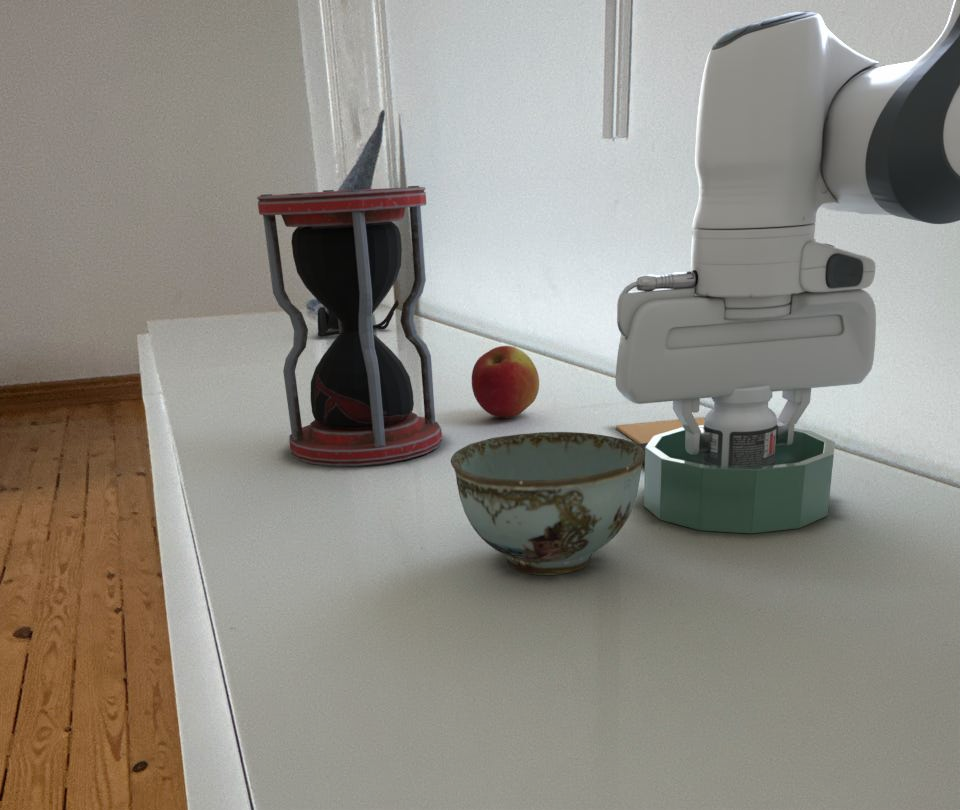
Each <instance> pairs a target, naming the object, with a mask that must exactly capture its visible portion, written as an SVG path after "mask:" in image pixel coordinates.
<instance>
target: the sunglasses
mask: <svg viewBox="0 0 960 810" xmlns="http://www.w3.org/2000/svg"><path fill="white" fill-rule="evenodd" d="M399 305H400V304H399V300H398V299H396V300H395V301H394V303H393V305H392V306H391V308H390V309H389V311H388V313H387V315H386V316H385V318H384V319H383V320H382V321H381V322H379V323H376V324H373V330H374V329H377V330H386V329H387V328H388V326H389V325H390V322H391V320H392V319H393V316H394V313H395V311H396V310H397V308H398V306H399ZM331 329H332V330H331ZM328 330H331V331H328ZM339 334H340V333H339V324H338V318H337V317H335V316H334V315H333V314H332V313H331V312H330V311H329V310H328V311H327V309H326V307H324V306H319V308H318V310H317V337H330V336H338V335H339Z"/></svg>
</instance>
